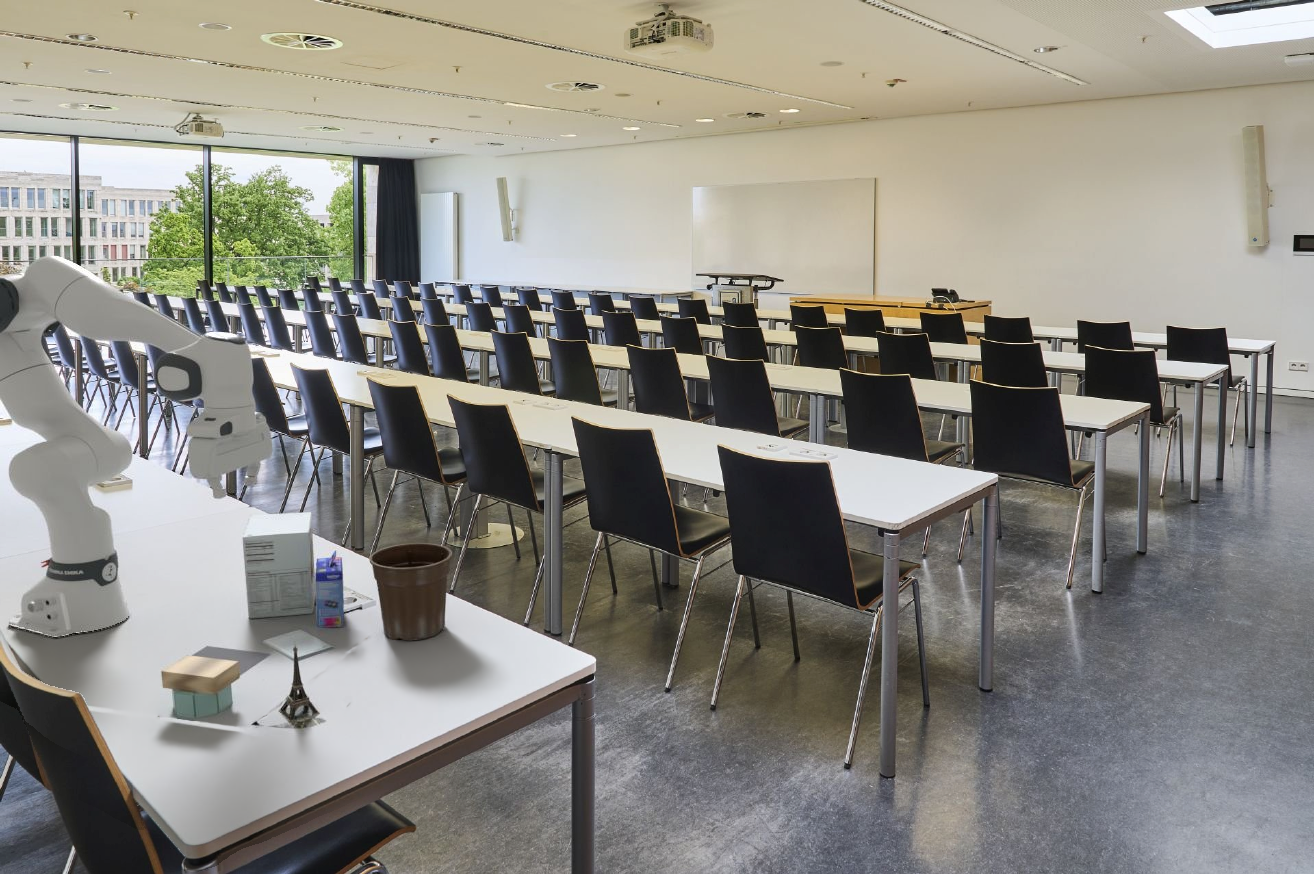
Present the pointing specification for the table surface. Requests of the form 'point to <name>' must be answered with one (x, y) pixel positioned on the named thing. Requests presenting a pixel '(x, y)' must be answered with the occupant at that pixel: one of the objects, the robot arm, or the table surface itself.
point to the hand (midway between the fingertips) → (236, 491)
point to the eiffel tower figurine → (297, 704)
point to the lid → (200, 674)
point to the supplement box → (279, 565)
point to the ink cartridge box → (329, 592)
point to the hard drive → (297, 644)
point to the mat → (233, 656)
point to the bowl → (200, 702)
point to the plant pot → (412, 588)
